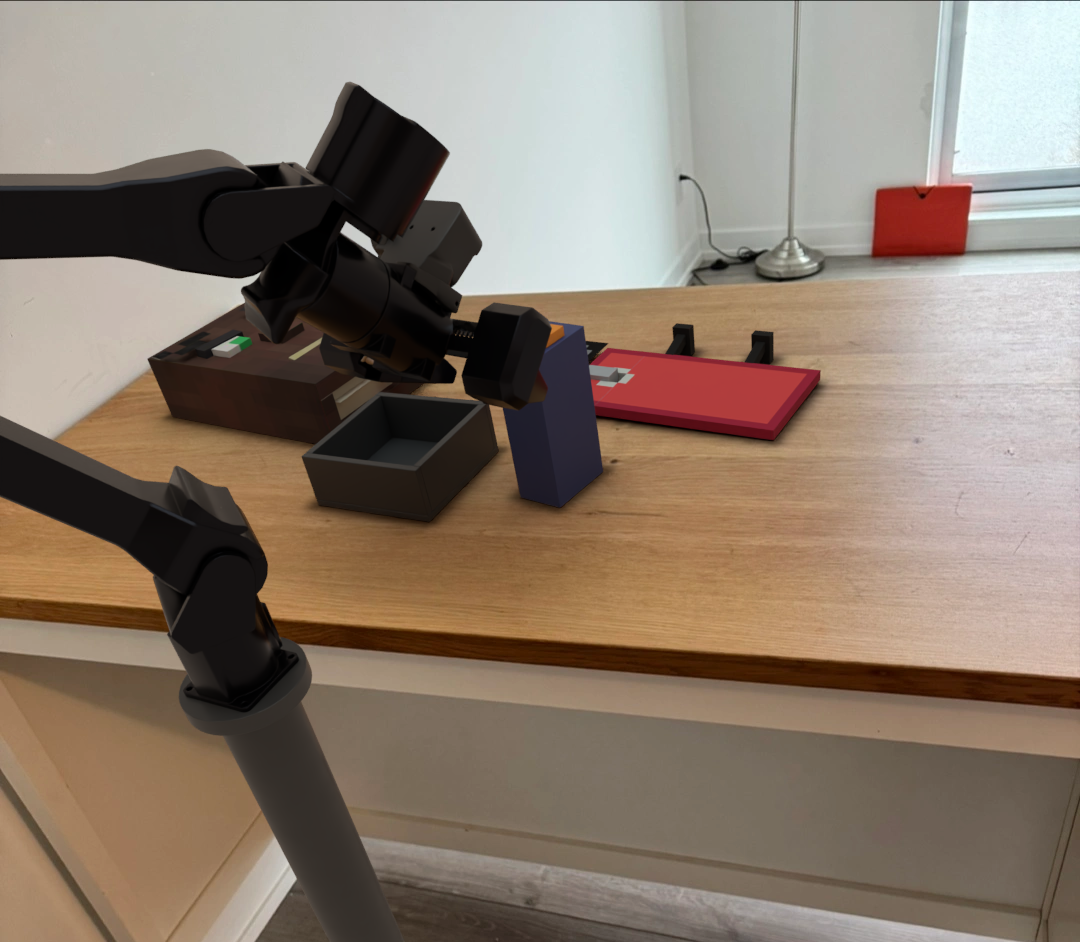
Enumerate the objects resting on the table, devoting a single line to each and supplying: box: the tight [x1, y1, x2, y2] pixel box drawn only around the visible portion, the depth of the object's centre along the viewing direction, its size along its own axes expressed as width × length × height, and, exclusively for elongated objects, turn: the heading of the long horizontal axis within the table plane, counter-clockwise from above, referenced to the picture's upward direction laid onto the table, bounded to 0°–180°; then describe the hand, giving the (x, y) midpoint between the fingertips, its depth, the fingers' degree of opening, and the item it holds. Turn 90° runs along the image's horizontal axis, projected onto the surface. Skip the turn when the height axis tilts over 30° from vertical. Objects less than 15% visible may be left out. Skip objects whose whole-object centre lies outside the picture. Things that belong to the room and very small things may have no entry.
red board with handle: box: [586, 322, 822, 441], centre depth 99 cm, size 30×3×15 cm
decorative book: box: [147, 302, 424, 445], centre depth 110 cm, size 19×8×30 cm
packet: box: [502, 320, 604, 508], centre depth 84 cm, size 6×4×14 cm
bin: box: [300, 392, 500, 523], centre depth 92 cm, size 12×12×5 cm
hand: (497, 385), depth 78 cm, fingers open, 9 cm apart
